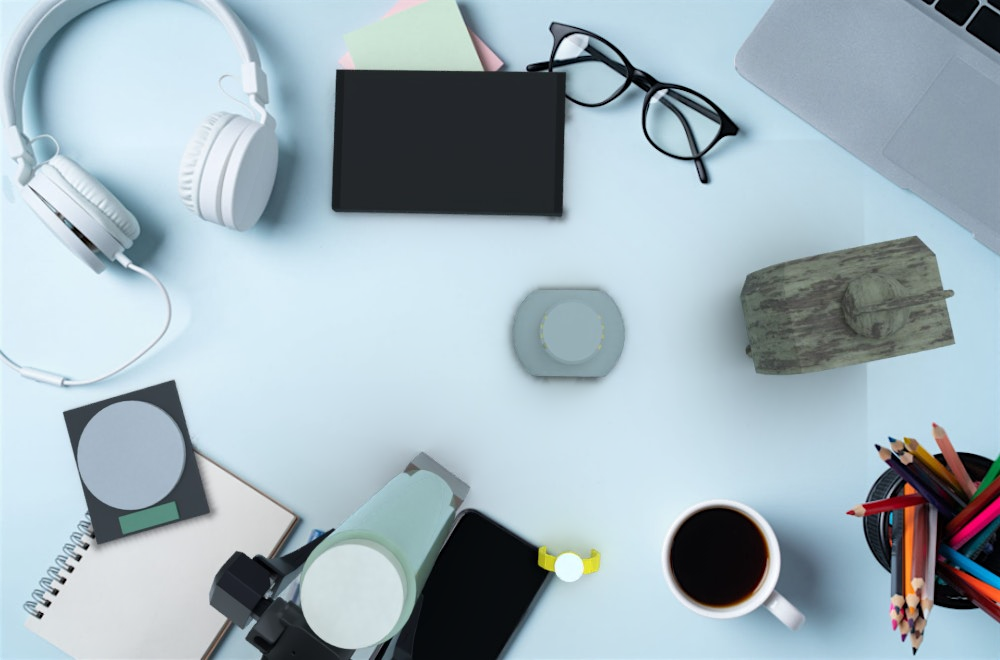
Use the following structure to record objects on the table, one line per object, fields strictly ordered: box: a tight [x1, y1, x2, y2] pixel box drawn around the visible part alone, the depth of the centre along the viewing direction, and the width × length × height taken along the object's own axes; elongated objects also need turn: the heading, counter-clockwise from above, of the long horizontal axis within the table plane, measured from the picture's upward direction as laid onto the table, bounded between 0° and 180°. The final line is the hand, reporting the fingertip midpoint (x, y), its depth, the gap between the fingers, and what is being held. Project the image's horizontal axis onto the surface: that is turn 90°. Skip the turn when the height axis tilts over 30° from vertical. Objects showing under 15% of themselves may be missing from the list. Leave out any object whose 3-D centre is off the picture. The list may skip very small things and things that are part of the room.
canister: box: [299, 470, 457, 650], centre depth 58 cm, size 7×7×26 cm
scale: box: [62, 379, 211, 545], centre depth 80 cm, size 14×12×2 cm
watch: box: [537, 545, 601, 583], centre depth 76 cm, size 6×3×6 cm, turn 87°
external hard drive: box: [331, 68, 567, 217], centre depth 79 cm, size 14×23×3 cm, turn 88°
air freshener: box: [512, 289, 626, 378], centre depth 75 cm, size 11×8×10 cm
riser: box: [403, 451, 471, 512], centre depth 75 cm, size 6×6×9 cm
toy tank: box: [739, 235, 956, 376], centre depth 66 cm, size 14×9×25 cm, turn 101°
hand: (377, 563), depth 67 cm, fingers open, 9 cm apart
